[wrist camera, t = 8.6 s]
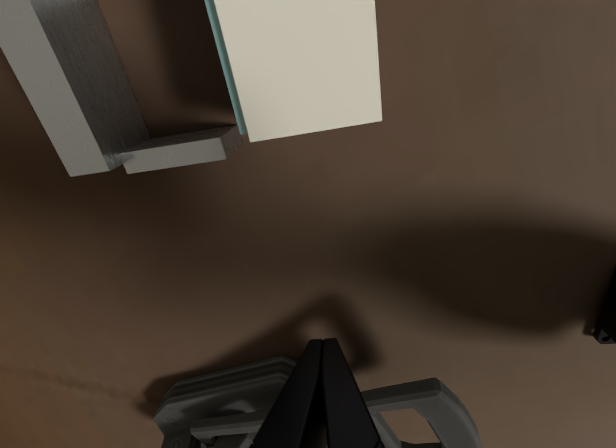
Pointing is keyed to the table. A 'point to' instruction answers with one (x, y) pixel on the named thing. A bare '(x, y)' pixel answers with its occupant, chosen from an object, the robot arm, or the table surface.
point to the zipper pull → (264, 391)
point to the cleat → (91, 92)
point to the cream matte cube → (298, 64)
